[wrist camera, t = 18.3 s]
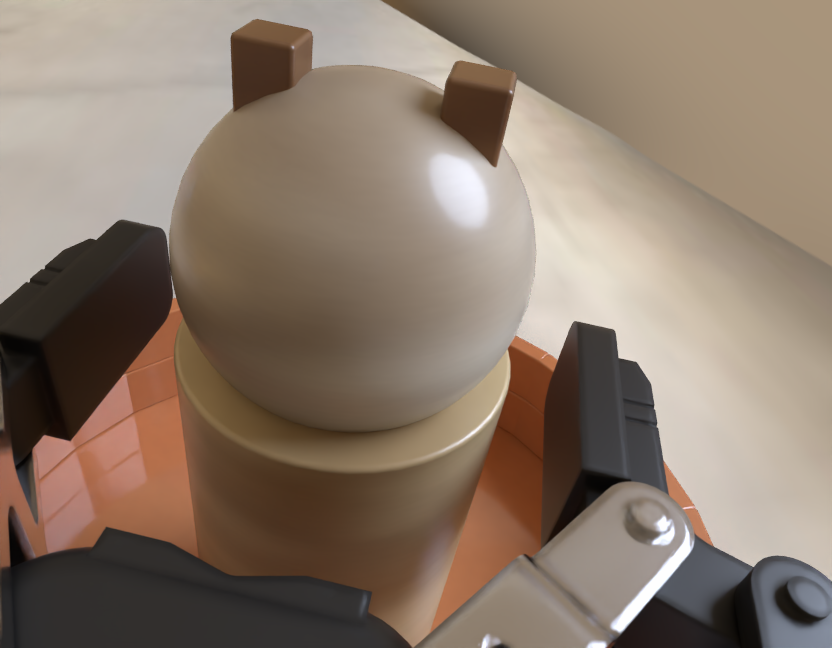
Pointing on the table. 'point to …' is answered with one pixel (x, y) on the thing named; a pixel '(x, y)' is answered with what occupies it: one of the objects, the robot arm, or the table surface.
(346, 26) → the table surface
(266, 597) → the robot arm
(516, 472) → the pan
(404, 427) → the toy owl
